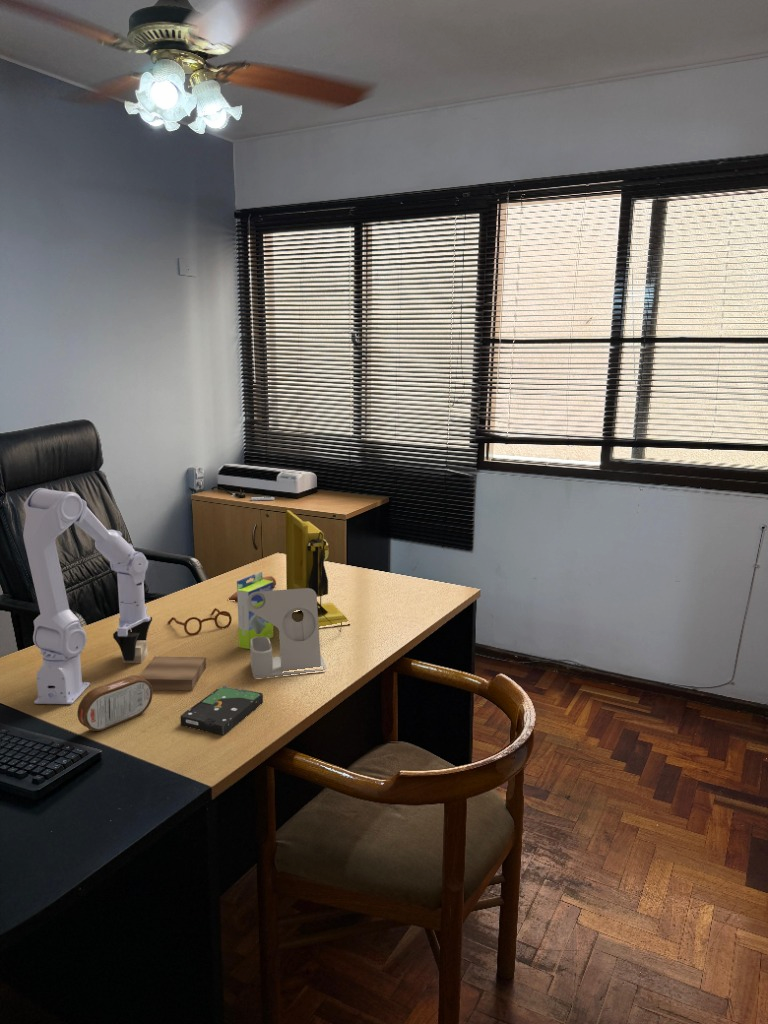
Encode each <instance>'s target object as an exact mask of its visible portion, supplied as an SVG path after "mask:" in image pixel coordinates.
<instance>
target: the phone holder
mask: <svg viewBox="0 0 768 1024" xmlns="http://www.w3.org/2000/svg"><path fill="white" fill-rule="evenodd" d="M255 595H260V596H261V597H262V598H263V603H262V605H261V606H259V607H255V606H253V605H252V603H251V599H252V597H253V596H255ZM317 601H318V597H317V595H316V593H315V591H314V590H313V589H310V588H302V589H287V588H286V589H276V590H274V589H273V591H260V592H253V593H251V594H250V595H249V597H248V599H247V607H248V609H249V610H250V611H251V612H252V613H254V614H256V615H257V616H259V617H261V618H262V619H264V620H266V621H267V622H269V623H271V624H272V625H273V627H276V628H277V629H278V636H279V637H278V638H279V639H278V640H279V653H280V654H279V655H280V656H273V647H272V644H271V643H272V642H271V641H270V639H269V638H267V637H255V638H253V639H251V641H250V649H249V650H250V667H251V668H252V669H251V674H252V673H253V674H252V678H253V677H254V678H253V679H255V678H266V679H268V678H267V677H275V676H283V675H291V674H300V673H306V672H315V671H323V670H325V669H326V668H327V665H326V663H325V661H324V658H323V655H322V654H321V644H320V643H321V642H320V631H319V630H320V629H319V625H318V609H317ZM296 610H300V611H302V612H301V613H302V615H303V614H304V618H303V617H302V620H301V621H295V620H294V619H293V613H295V612H294V611H296ZM320 666H323V669H315V670H304V671H294V672H284V673H282V672H283V671H289V670H297V669H305V668H313V667H320ZM327 669H328V668H327Z"/></svg>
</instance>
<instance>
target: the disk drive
mask: <svg viewBox="0 0 768 1024" xmlns="http://www.w3.org/2000/svg"><path fill="white" fill-rule="evenodd" d="M262 703H263V704H264V694H263V693H262V692H257V691H253V690H248V689H244V688H241V689H239V688H233V687H229V686H227V685H223V686H220V687H219V688H216V689H215V690H214V691H212V692H211V693H210V694H208V695H207V696H205V697H204V698H203V699H201V700H200V701H199V702H197V703H196V704H194V705H193V706H192V707H190V708H188V709H187V710H186V711H184V712H183V713H182V714H181V715H179V716H180V717H179V719H180V726H181V727H185V726H187V727H186V728H189V727H191V728H190V729H193V728H195V729H194V730H198V729H200V730H199V731H202V730H203V731H202V732H206V731H207V732H206V733H211V734H214V735H219V736H225V735H226V734H228V733H229V732H230V731H231V730H232V729H234V728H235V727H236V726H237V725H238V724H239V722H240V723H241V722H242V721H244V719H245V717H246V716H247V717H249V715H250V714H251V712H252V711H253V712H254V711H255V710H257V709H258V708H259V707H260V706H261V705H263V704H262ZM260 704H261V705H260ZM259 705H260V706H259ZM258 706H259V707H258ZM257 707H258V708H257ZM256 708H257V709H256ZM253 712H252V713H253ZM247 717H246V718H247ZM182 725H183V726H182Z"/></svg>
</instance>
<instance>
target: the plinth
mask: <svg viewBox="0 0 768 1024" xmlns="http://www.w3.org/2000/svg"><path fill="white" fill-rule="evenodd" d="M206 659H207V658H206V657H205V656H200V657H199V656H154V657H153V658H152V659H151V660H149V661H150V662H149V663H148V664H147V665H146V666H145V668H144V669H143V670H142V672H141V673H140V674H139V676H141V677H143V678H144V679H145V680H146V681H148V682H149V683H150V684H151V686H152V690H153V691H193V690H194V689H195V686H197V684H198V682H199V680H200V678H201V676H202V675H203V673H204V672H205V670H206V668H207V660H206Z"/></svg>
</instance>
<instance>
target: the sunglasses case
mask: <svg viewBox="0 0 768 1024" xmlns="http://www.w3.org/2000/svg"><path fill="white" fill-rule="evenodd" d="M262 579H264V580H269V581H273V587H275V586H276V584H277V581H276V578H275V577H274V576H271V575H269V576H262ZM228 599H229V600H235V601H238V594H237V591H236V592H235V593H233V594H232V595H230V596H229V597H228V598H227V600H228Z"/></svg>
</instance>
